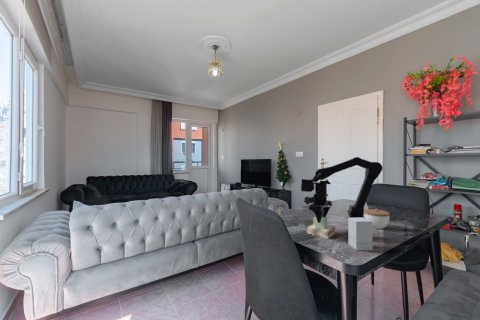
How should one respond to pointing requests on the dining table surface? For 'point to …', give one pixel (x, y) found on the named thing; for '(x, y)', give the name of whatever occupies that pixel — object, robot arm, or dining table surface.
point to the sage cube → (321, 223)
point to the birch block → (321, 231)
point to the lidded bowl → (377, 217)
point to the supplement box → (360, 233)
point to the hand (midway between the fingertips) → (321, 221)
